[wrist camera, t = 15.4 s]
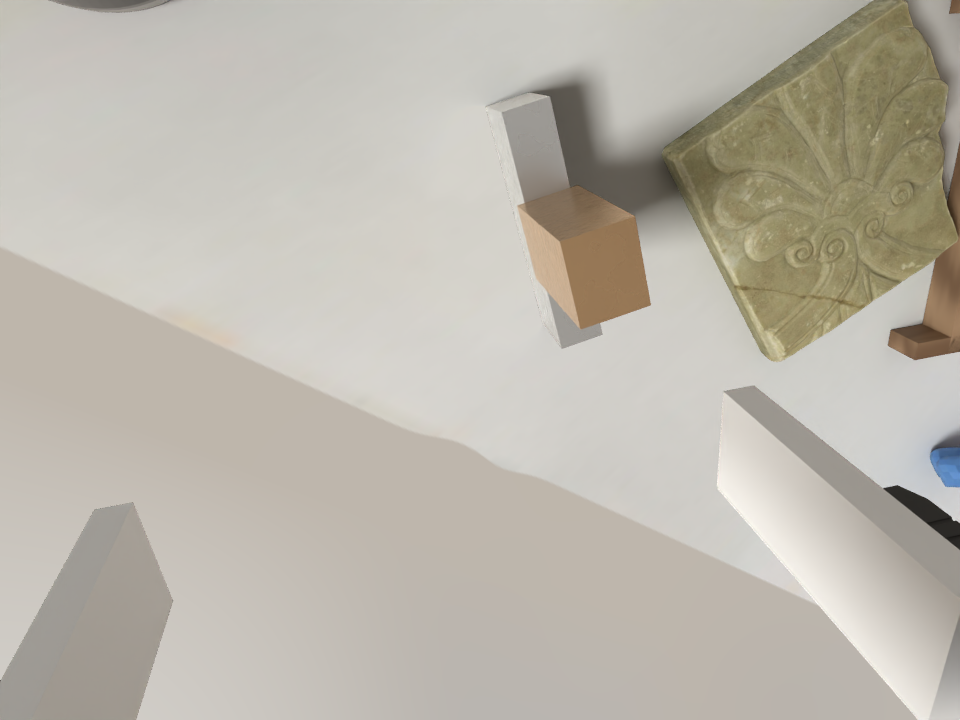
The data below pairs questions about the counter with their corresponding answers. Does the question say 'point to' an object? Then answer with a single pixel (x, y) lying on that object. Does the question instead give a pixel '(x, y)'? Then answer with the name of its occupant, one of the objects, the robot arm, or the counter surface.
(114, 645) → the robot arm
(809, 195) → the decorative tile
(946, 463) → the blue knobbed flower
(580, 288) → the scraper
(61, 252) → the counter surface
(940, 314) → the brown wooden bar
